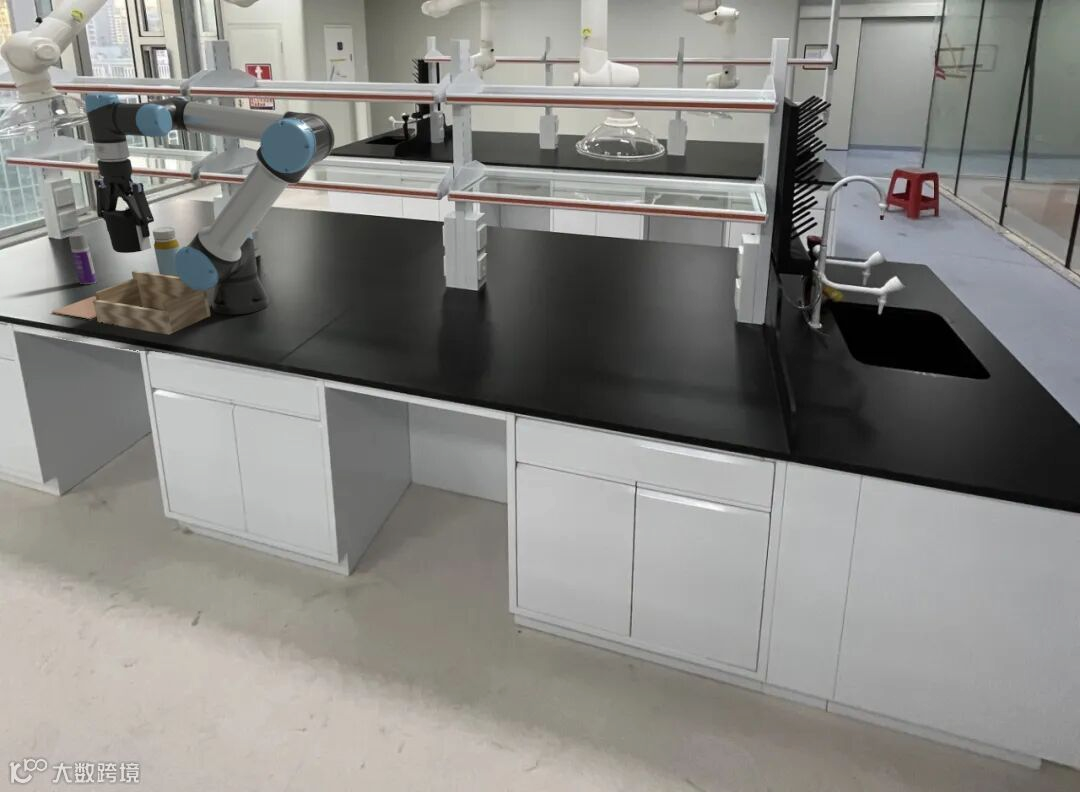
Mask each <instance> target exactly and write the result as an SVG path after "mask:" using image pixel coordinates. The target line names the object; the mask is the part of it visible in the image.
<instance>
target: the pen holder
mask: <svg viewBox="0 0 1080 792" xmlns="http://www.w3.org/2000/svg"><path fill="white" fill-rule="evenodd" d="M104 216H105V220H106V222H105V225H106V224H107V226H106V229H107V228H108V231H107V232H108V235H109V239H110V242H111V243H112V244H111V247H112V250H113V251H115V252H116V253H122V254H123V253H124V254H129V253H132V254H133V253H139V252H143V251H142V250H141V248H140V243H139V238H138V233H137V228H136V225H137V224H138V222H137V221H136V219H135V216H134V215H133V214H132V212H131V210H130V208H129V207H128V208H127V209H124V210H118V209H116V210H115V211H108V210H106V211H104ZM105 220H104V221H105ZM141 220H142V219H141Z"/></svg>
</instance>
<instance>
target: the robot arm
mask: <svg viewBox="0 0 1080 792" xmlns="http://www.w3.org/2000/svg"><path fill="white" fill-rule="evenodd" d="M84 105H85V110H86V112H85V113H86V117H87V121H88V124H89V125H88V126H89V128H90V132H91V137H92V138H91V139H92V142H93V147H94V153H95V157H96V159H98V160H97V163H96V164H97V168H98V173H99V175H100V176H101V177H103V178H97V179H94V180H93V181H94V182H93V183H94V186H95V189H96V190H95V191H96V192H95V193H96V211H97V212H96V214H97V217H98V218H101V219H103V221H105V225H106V230H107V232H108V228H107V224H106V220H105V216H104V211H106V210H108V211H115V210H117V205H118V200H119V198H121V199H122V200H123V201H124V202H125V203H126V205H127V207H128V209H129V208H130V210H131V212H132V214H133V215H134V216H135V219H136V221H137V222H138V224H137V225H136V228H137V233H138V238H139V243H140V248H141V250H142V251H141V252H143V251H146V250H149V249H152V246H151V241H150V236H151V233H150V228H149V224H150V223H154V221H155V219H154V216H153V213H152V211H151V207H150V204H149V202H148V199H147V197H146V195H145V189H144V184H143V183H142V182H139V183H137V182H134V180H133V179H132V175H133V171H134V170H133V166H132V162H131V161H132V160H131V159H130V158H129V157H130V150H129V146H128V140H127V136H135V137H137V136H138V137H149V138H156V137H157V138H160V137H161V138H162V137H163V138H164V137H167V136H168V135H169V133H170V132H172V131H181V132H190V133H198V134H203V135H204V134H205V135H208V136H209V135H210V136H217V137H223V138H229V139H237V140H242V141H248V142H254V143H255V142H256V143H259V144H260V146H259V148H257V150H256V152H255V153H256V155H255V156H256V159H257V162H256V163H255V165H254V166H253V168H252V169H251V170H250V171H249V172H248V174H247V176H246V177H245V178H244V180H243V181H242V182H241V184H239V187H238V188H237V189H236V191H235V192H234V193H233V194H232V196H231V198H230V199H229V200H228V202H227V203H226V205H225V206H224V207H223V209H222V210H221V212H220V213H219V214H218V216H217V217H216V218H215V220H214V221H213V222H212V224H211V225H209V226H203V227H201V228H200V229H199V230H198V232H197V233H196V234H195V236H194V237H193V239H192V240H191V242H189V244H188V245H186V246H183V247H181V248H180V250H179V251H178V252H177V253H176V255H175V258H174V267H175V269H176V273H177V275H178V277H179V278H180V279H181V281H182V282H183V283H185V284H186V285H187V286H189V287H190V288H193V289H195V290H206V291H207V290H210V289H212V288H213V290H212V296H211V307H212V310H213V311H214V312H215V313H217V314H222V315H231V316H232V315H233V316H234V315H235V316H236V315H245V314H250V313H255V312H259V311H261V310H263V309H265V308H267V307H268V306H269V295H268V293H267V292H266V289H265V288H264V286H263V284H262V281H261V280H260V278H259V274H258V267H257V265H258V264H257V260H256V251H255V245H254V238H253V235H252V234H253V231H254V230H255V229H256V228H257V226H258V225H259V224H260V222H261V221H262V219H263V218H264V217H265V215H266V214H267V213H268V212H269V210H270V209H271V208H272V207H273V205H274V204H275V202H276V201H277V200H278V199H279V197H280V196H281V195H282V193H283V192H284V191H285V189H286V188H287V187H288V186H289V185H297V184H298V183H299V182H300V181H301V179H303V177H304V175H306V173H307V172H308V170H309V169H310V168H311V167H312V166H313V165H314V164H316V163H318V162H319V163H320V162H321V161H323V160H324V159H326V158H327V157H328V156H330V154H331V153H332V151H333V149H334V147H335V133H334V130H333V128H332V126H331V125H330V123H329V121H327V120H326V119H325V118H324V117H323V116H321V115H319V114H315V113H312V112H296V111H289V110H288V111H285V112H284V113H283V114H281V113H280V114H279V113H273V112H266V111H259V110H255V109H254V110H253V109H248V108H247V109H245V108H238V107H231V106H225V105H219V104H212V103H203V102H198V101H191V100H188V99H187V98H185V97H183V96H182V97H181V96H178V97H177V96H171V97H169V98H165V99H158V100H154V101H146V102H141V103H131V102H130V103H129V102H127V103H125V102H121V101H120V99H119V96H118V94H116V93H112V92H94V93H93V92H92V93H87V94H86V95H85V96H84ZM141 219H142V220H141ZM111 245H112V243H111Z"/></svg>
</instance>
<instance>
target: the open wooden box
mask: <svg viewBox="0 0 1080 792" xmlns="http://www.w3.org/2000/svg"><path fill="white" fill-rule="evenodd" d="M131 275H132V278H131V279H128V280H125V281H122V282H119V283H116V284H114V285H112V286H109V287H108V286H107V287H105V288H102V289H101V290H97V291H95V292H94V295H95V296H96V300H94V301H93V304H94V308H95V312H96V316H97V318H96V319H97V320H96V321H97V323H101V322H103V323H102V324H106V323H107V324H108V325H112V324H114V325H113V326H117V325H118V326H119V327H123V328H130V329H136V330H141V331H145V332H152V333H158V334H163V335H171V334H174V333H175V332H178V331H180V330H182V329H184V328H187V327H189V326H191V325H194V324H196V323H198V322H199V321H202V320H204V319H206V318H209V317H211V315H212V314H211V311H210V310H211V309H210V304H209V299H208V294H207V293H208V292H207V290H195V289H193V288H190V287H189V286H187V285H186V284H185V283H183V282H182V281H181V279H180V278H179V277H175V276H169V275H162V274H160V273H154V272H148V271H141V270H132V271H131ZM140 306H142V307H140ZM144 306H147V307H144ZM150 307H151V308H150ZM156 308H158V309H156Z"/></svg>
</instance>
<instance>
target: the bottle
mask: <svg viewBox="0 0 1080 792" xmlns="http://www.w3.org/2000/svg"><path fill="white" fill-rule="evenodd" d="M152 236H153V239H154V243H153V247H154V252H155V258H156V262H157V267H158V274H162V275H169V276H175V277H178V275H177V273H176V269H175V267H174V258H175V255H176V253H177V252H178V251H179V250H180V249H181V248H180V245H179V242H178V240H177V237H176V232H175V228H174V227H170V226H168V227H157V228H154V229H152Z"/></svg>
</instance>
